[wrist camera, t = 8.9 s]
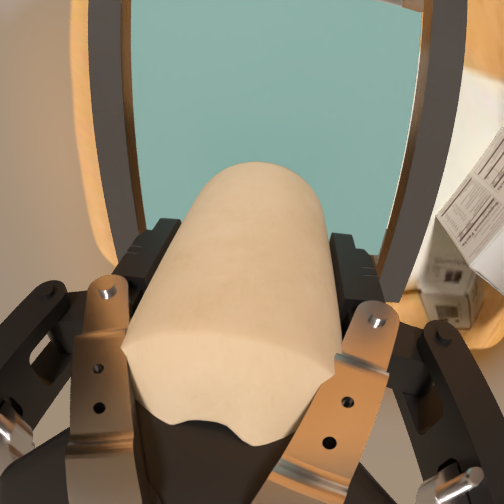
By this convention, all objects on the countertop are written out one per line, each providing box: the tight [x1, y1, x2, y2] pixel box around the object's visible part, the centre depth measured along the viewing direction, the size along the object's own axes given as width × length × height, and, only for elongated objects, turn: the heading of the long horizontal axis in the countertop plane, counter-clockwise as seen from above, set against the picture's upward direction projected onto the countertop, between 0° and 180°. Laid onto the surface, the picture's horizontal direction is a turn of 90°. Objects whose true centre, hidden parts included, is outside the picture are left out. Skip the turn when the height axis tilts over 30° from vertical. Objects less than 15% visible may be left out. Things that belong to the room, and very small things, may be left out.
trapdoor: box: [131, 0, 422, 255], centre depth 14 cm, size 17×14×2 cm
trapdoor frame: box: [88, 0, 467, 303], centre depth 20 cm, size 21×19×13 cm
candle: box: [120, 161, 342, 446], centre depth 10 cm, size 6×6×10 cm
